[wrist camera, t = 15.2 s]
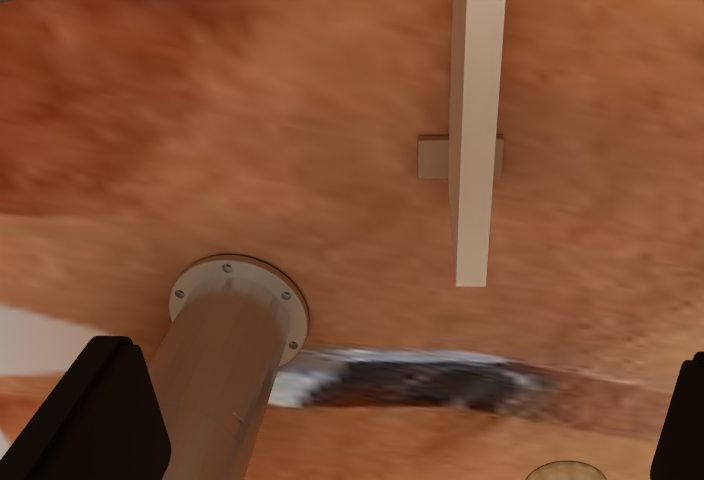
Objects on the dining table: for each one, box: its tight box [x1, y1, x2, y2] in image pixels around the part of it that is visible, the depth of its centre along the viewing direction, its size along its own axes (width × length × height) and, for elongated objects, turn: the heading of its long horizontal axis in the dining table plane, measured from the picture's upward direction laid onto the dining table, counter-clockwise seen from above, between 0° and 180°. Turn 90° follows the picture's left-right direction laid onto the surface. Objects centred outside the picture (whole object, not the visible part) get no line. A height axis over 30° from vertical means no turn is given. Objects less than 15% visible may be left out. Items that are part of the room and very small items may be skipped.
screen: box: [418, 0, 506, 287], centre depth 32 cm, size 22×6×14 cm, turn 3°
